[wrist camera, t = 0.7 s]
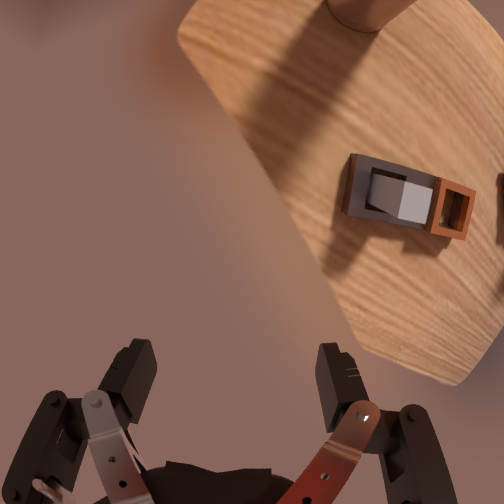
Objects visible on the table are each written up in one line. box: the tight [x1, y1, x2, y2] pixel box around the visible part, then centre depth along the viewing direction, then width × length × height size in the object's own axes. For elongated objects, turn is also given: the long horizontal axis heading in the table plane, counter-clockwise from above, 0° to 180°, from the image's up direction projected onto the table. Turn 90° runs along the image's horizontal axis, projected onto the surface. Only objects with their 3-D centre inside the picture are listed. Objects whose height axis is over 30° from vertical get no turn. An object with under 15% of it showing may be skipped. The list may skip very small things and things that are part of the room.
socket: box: [341, 154, 476, 241], centre depth 33 cm, size 22×8×4 cm, turn 83°
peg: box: [366, 173, 433, 224], centre depth 30 cm, size 4×4×10 cm
